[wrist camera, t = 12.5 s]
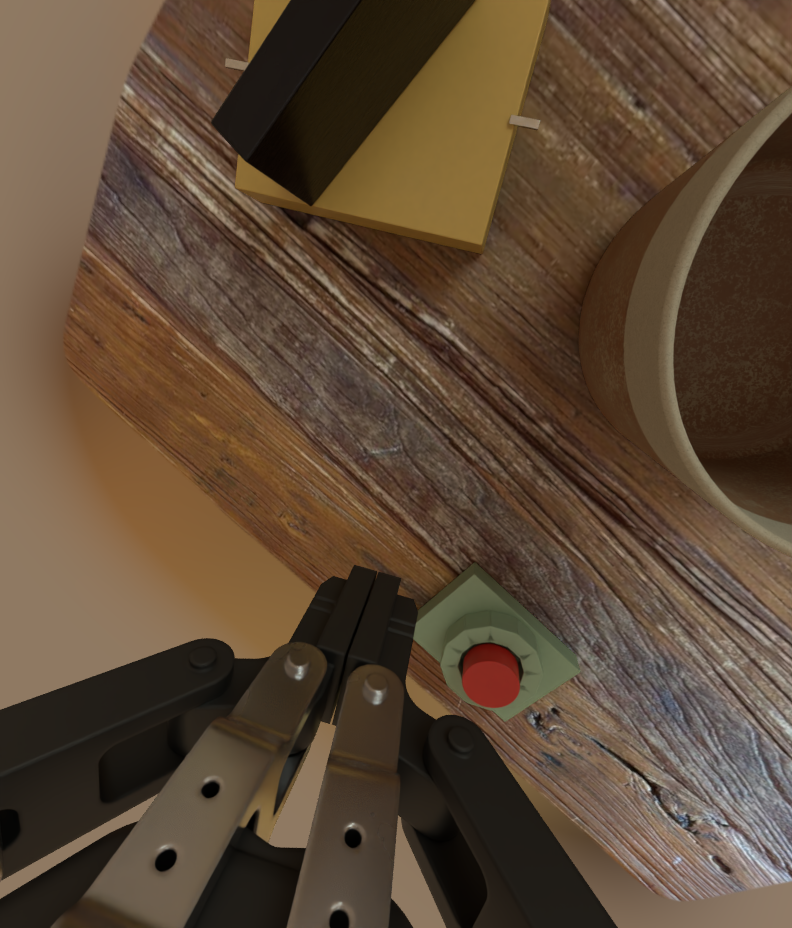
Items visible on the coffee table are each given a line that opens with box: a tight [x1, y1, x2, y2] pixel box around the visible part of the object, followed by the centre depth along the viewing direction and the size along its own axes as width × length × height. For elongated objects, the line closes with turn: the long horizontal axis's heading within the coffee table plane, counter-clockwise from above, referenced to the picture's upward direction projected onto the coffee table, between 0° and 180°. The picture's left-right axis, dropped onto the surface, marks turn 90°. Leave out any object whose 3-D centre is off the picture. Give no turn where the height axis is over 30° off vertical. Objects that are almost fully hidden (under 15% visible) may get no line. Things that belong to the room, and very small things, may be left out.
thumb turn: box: [211, 0, 475, 206], centre depth 19 cm, size 12×2×7 cm, turn 134°
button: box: [462, 643, 520, 708], centre depth 29 cm, size 4×4×2 cm
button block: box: [413, 562, 580, 721], centre depth 31 cm, size 10×7×4 cm
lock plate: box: [225, 0, 551, 254], centre depth 24 cm, size 16×11×3 cm
